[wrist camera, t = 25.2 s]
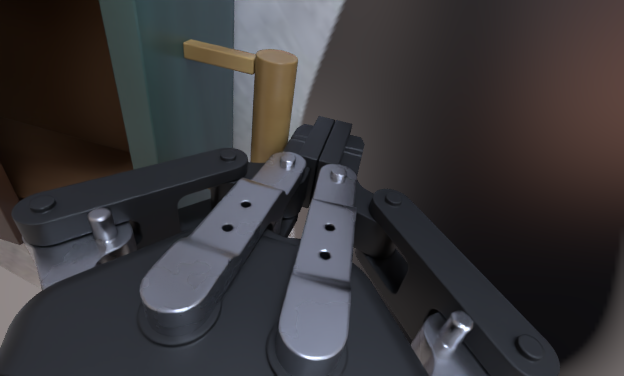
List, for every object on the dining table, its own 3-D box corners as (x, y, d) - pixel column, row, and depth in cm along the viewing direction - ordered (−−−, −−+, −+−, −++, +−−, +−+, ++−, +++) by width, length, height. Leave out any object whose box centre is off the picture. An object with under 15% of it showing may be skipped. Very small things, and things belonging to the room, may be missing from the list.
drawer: (336, -54, 13) (285, -52, 8) (295, 204, 22) (256, 292, 16) (-110, -143, 15) (-395, -190, 10) (8, 125, 24) (-113, 180, 18)
